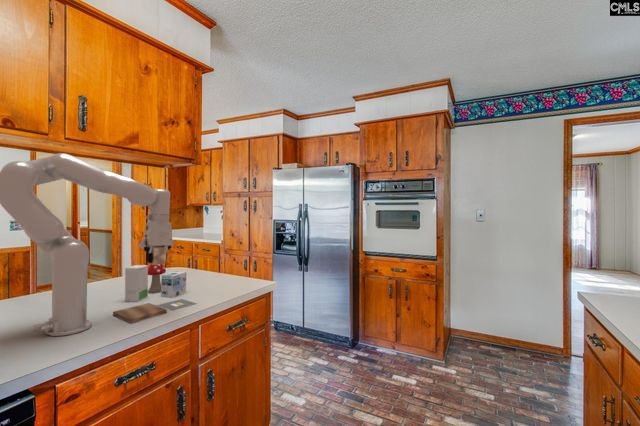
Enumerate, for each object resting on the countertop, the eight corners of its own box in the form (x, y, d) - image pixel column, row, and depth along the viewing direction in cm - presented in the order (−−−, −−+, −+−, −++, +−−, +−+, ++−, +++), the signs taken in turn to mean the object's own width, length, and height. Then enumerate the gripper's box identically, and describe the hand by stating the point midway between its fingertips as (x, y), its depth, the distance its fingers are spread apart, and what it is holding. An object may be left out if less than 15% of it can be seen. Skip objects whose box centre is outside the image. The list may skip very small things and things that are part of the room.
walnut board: (130, 323, 114) (130, 319, 114) (113, 315, 122) (113, 311, 122) (166, 313, 126) (166, 309, 126) (148, 306, 134) (148, 303, 134)
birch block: (153, 264, 125) (154, 247, 126) (147, 263, 128) (148, 246, 128) (165, 263, 130) (166, 247, 130) (159, 262, 132) (160, 245, 132)
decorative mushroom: (154, 288, 164) (154, 260, 163) (169, 289, 163) (169, 260, 162) (141, 293, 154) (141, 263, 153) (157, 294, 153) (158, 264, 153)
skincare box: (138, 302, 139) (138, 268, 139) (123, 302, 139) (124, 267, 139) (148, 297, 148) (148, 264, 147) (134, 296, 148) (135, 264, 147)
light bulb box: (172, 298, 147) (173, 275, 147) (160, 297, 148) (160, 274, 148) (186, 292, 157) (187, 271, 157) (175, 291, 159) (175, 270, 158)
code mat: (172, 311, 129) (172, 310, 129) (156, 305, 135) (156, 305, 135) (197, 304, 139) (197, 303, 139) (182, 299, 146) (182, 298, 146)
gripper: (143, 218, 120) (140, 265, 120) (182, 219, 134) (180, 261, 134) (133, 217, 124) (130, 262, 124) (173, 218, 138) (170, 259, 138)
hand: (156, 261), depth 129 cm, fingers closed on birch block, 5 cm apart
